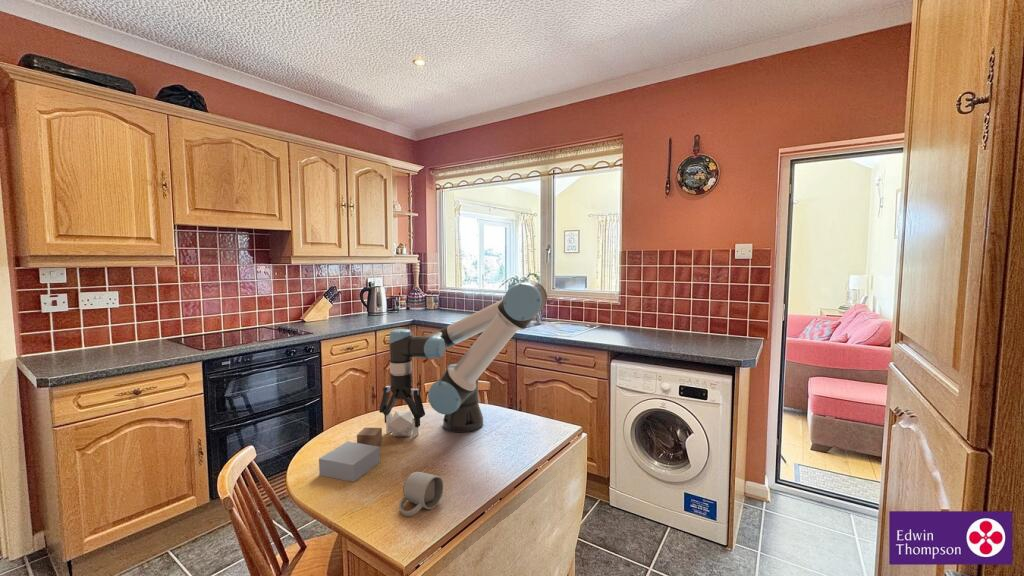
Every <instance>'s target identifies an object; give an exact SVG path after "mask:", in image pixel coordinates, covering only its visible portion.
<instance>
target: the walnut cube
mask: <svg viewBox="0 0 1024 576" xmlns="http://www.w3.org/2000/svg"><path fill="white" fill-rule="evenodd" d="M382 430H383V429H382V427H363V428H362V429H361V430H360V431H359V432H358V433H357V434H356V443H360V444H366V445H372V446H378V447H380V448H381V447H382V446H383V431H382Z"/></svg>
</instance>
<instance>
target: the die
mask: <svg viewBox="0 0 1024 576" xmlns="http://www.w3.org/2000/svg"><path fill="white" fill-rule="evenodd" d="M413 418H414V416H413V414H412V412H411V410H408V411H403V410H402V411H401V410H400V411H394V413H393V414H392V419H391V420H390V422H389V427H390V429H391V433H392V435H393V437H410V435H411V433H412V419H413Z"/></svg>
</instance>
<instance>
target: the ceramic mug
mask: <svg viewBox="0 0 1024 576" xmlns="http://www.w3.org/2000/svg"><path fill="white" fill-rule="evenodd" d="M402 488H403V489H402V494H403V496H402V497H403V498H402V499H401V500H400V502H399V504H398V505H399V506H398V509H399V512H400V513H401V514H402V515H403V516H405V517H411V516H414V515H416V514H417V513H419V512H420V511H421V510H422V508H423V509H426V510H432V509H434V508H435V507H436V506H437V505H438V504H439V503H440V501H441V499H442V497H443V493H444V481H443V478H442V477H440V476H439V475H437V474H436V475H435V474H431V473H426V472H424V471H423V472H422V471H413V472H412V473H410V474H409V475H408V476H407V477H406V479H405V480H404V483H403V486H402ZM407 501H408V502H410V503H413V504H414V505H416V506H415V507H413V508H412V509H410V510H405V509H404V505H405V504H406V502H407Z"/></svg>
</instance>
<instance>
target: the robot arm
mask: <svg viewBox="0 0 1024 576" xmlns="http://www.w3.org/2000/svg"><path fill="white" fill-rule="evenodd" d="M547 302H548V294H547V291H546V289H545V287H544V286H543V285H542V284H541V283H539V282H537V281H533V280H528V281H527V280H526V281H520V282H517V283H515V284H513V285H511V286H510V288H508V289H507V291H506V292H505V294H504V298H502V299H501V300H499V301H496V302H494V303H492V304H490V305H487V306H486V307H484V308H482V309H480V310H477V311H476V312H474V313H472V314H470V315H467V316H466V317H463V318H462V319H460V320H458V321H455V322H454V323H452V324H449V325H447V326H445V327H442V328H441V329H438V330H437V331H434V332H432V333H430V334H428V335H412V331H411V329H407V328H400V329H399V328H398V329H397V328H396V329H393V330H391V331H390V332H389V341H388V345H389V372H390V375H389V380H390V385H386V386H384V387H383V388H382V389H383V391H382V392H383V394H382V398H381V402H380V406H379V411H378V412H379V413H381V414H383V415H384V424H385V425H386V427H385V429H386V434H391V433H392V431H391V429H390V427H389V422H390V420H391V419H392V417H393V412H392V409H393V407H394V405H395V404H396V402H397V400H403V401H404V403H406V404H407V406H408V408H409V411H410V412H411V414H412V416H413V419H412V431H411V433H412V438H416V437H417V436H419V435H420V434H419V428H420V426H421V419H422V418H423V417H424V416H425V415H426V412H425V408H424V405H423V401H422V397H421V389H420V388H419V387H418V388H413V385H412V384H413V373H412V371H413V365H412V364H413V363H412V360H413V358H421V359H431V360H433V359H441V358H442V357H443V356H444V354H445V351H446V350H447V349H449V348H450V347H451V348H452V347H453V346H455V345H457V344H459V343H461V342H463V341H465V340H467V339H471V338H472V337H475V336H476V335H479V336H478V337H477V339H476V340H475V341H474V342H473V343H472V345H471V346H470V347H469V349H468V350H467V351H466V353H465V354H464V355H463V356H462V357H461V359H460V360H459V361H458V362H457V363H451V364H449V365H447V367H446V370H445V371H444V373H443V374H442V375H441V376H440V377H439V379H438V380H437V381H435V382H433V383H432V385H431V386H430V387H429V389H428V393H427V397H428V402H429V405H430V406H431V408H432V410H434V411H435V412H436V413H438V414H441V415H444V417H443V419H442V421H443V423H442V426H443V428H444V429H445V430H447V431H448V432H454V433H467V432H472V431H477V430H479V429H481V428H482V427H483V425H484V416H483V413H482V410H481V408H480V407H481V406H480V404H479V378H480V377H481V376H482V374H483V373H484V372H485V370H486V369H487V368H488V367H489V365H491V363H492V362H493V361H494V360H495V359H496V357H497V356H498V355H499V353H500V352H502V350H503V349H504V347H505V346H506V345H508V343H509V341H510V340H511V339H512V338H513V337H514V335H515V334H516V333H517V331H519V330H520V331H521V330H522V331H523V330H525V329H526V328H527V326H528V325H530V323H531V322H533V319H534V318H535V317H536V316H537V315H538V313H540V312H541V311H542V310H544V309H545V307H546V305H547ZM391 393H392V395H391V396H390V394H391ZM389 398H390V399H389Z"/></svg>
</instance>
